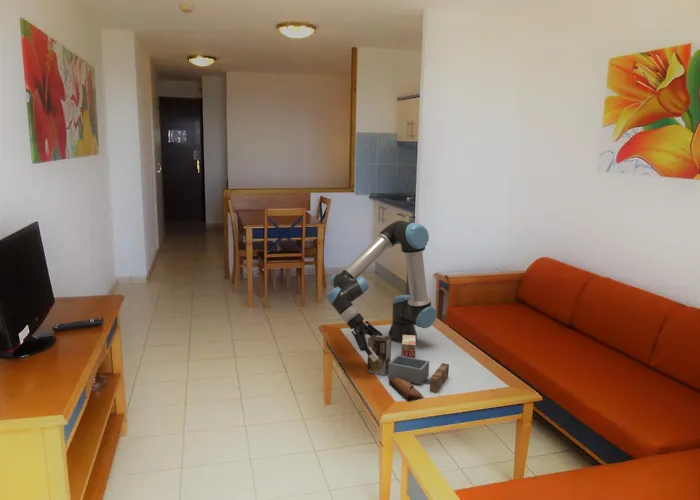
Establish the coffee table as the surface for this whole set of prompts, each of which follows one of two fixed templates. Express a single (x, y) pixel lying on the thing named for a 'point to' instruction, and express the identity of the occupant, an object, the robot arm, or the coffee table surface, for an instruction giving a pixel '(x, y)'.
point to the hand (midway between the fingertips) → (382, 355)
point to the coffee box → (379, 354)
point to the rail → (427, 381)
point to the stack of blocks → (408, 346)
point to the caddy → (408, 369)
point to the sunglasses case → (405, 389)
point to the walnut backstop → (439, 377)
